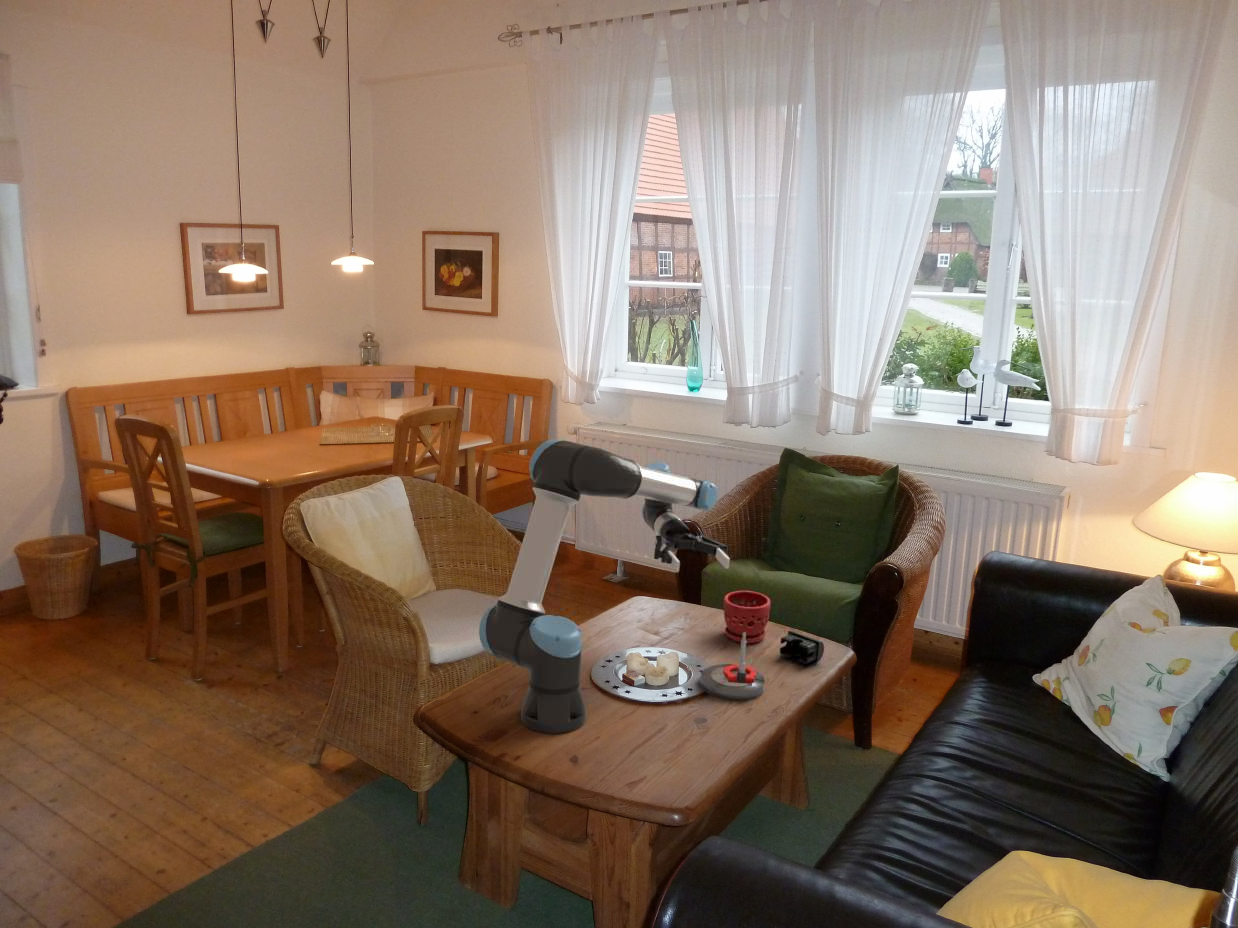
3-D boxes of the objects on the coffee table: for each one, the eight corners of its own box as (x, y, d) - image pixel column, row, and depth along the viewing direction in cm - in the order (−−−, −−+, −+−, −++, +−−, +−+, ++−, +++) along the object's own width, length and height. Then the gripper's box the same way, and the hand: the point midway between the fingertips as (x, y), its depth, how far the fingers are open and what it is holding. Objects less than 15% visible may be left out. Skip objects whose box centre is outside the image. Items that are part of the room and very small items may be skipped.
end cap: (823, 662, 263) (825, 638, 261) (808, 669, 258) (810, 645, 256) (792, 650, 270) (794, 627, 268) (777, 657, 265) (779, 634, 263)
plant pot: (717, 628, 283) (719, 590, 280) (761, 628, 284) (764, 590, 282) (726, 646, 270) (729, 606, 267) (772, 646, 272) (776, 606, 269)
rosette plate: (705, 700, 237) (705, 689, 237) (696, 672, 253) (697, 662, 252) (769, 701, 238) (770, 690, 238) (757, 673, 254) (757, 663, 253)
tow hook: (722, 667, 250) (724, 681, 241) (725, 620, 248) (727, 632, 239) (754, 670, 250) (757, 684, 241) (758, 622, 248) (761, 634, 239)
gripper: (713, 541, 266) (746, 575, 247) (627, 546, 258) (655, 581, 239) (716, 516, 263) (750, 548, 244) (630, 520, 255) (658, 554, 236)
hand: (703, 565), depth 242 cm, fingers open, 13 cm apart
